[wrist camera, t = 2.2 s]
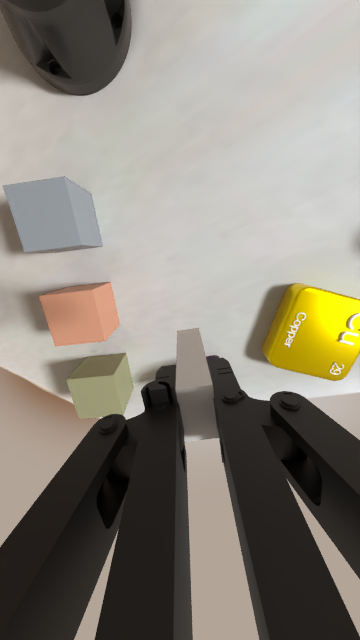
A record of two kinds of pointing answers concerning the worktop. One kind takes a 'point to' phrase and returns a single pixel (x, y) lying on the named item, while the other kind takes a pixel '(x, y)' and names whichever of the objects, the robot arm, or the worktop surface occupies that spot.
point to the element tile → (315, 333)
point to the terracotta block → (81, 313)
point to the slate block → (53, 215)
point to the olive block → (101, 386)
